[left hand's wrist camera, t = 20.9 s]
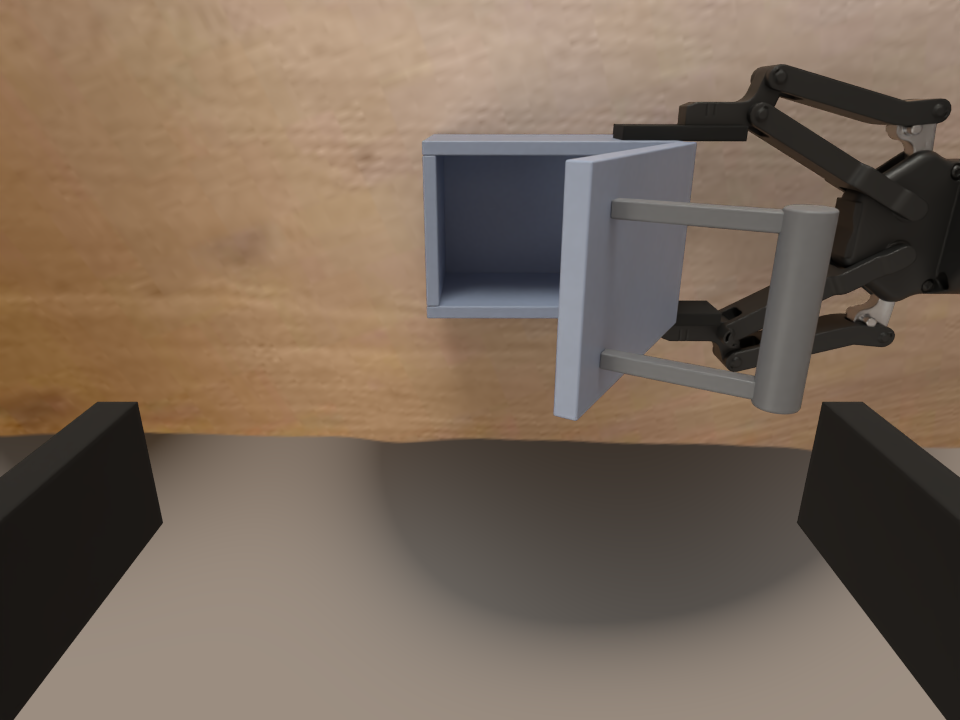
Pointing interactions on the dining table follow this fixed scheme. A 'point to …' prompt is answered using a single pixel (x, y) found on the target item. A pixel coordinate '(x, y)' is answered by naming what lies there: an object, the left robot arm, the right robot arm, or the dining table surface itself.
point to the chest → (499, 220)
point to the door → (672, 280)
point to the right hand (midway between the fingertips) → (610, 227)
